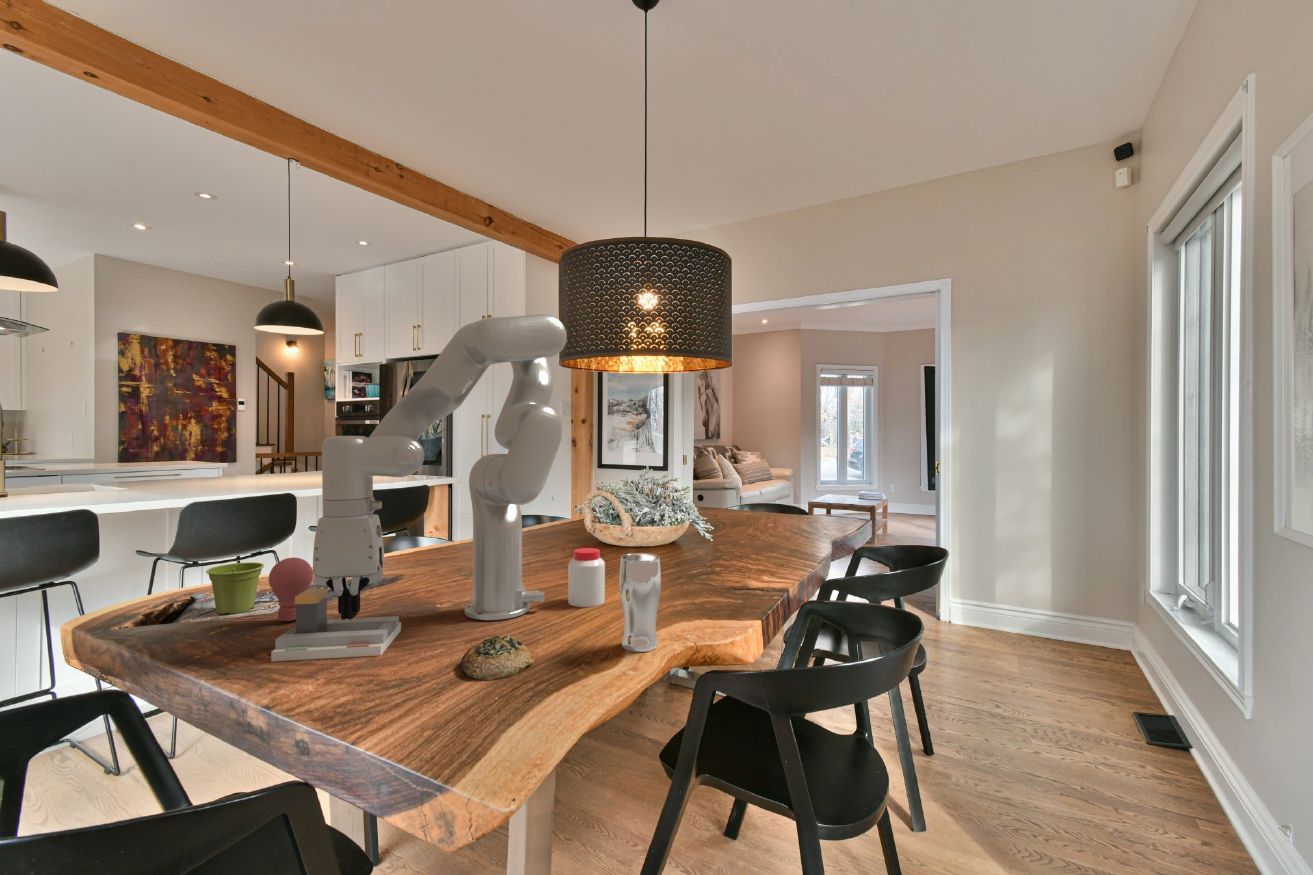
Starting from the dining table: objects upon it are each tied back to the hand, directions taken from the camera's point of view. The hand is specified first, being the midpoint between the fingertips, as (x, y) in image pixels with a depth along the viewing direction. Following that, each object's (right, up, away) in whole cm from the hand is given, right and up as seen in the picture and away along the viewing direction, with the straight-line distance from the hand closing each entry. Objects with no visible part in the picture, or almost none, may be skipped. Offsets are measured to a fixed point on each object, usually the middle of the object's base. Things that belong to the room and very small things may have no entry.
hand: (349, 616), depth 97 cm
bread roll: (+27, -5, -9) cm, 29 cm away
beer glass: (+49, -5, 0) cm, 49 cm away
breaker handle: (-6, -3, -1) cm, 6 cm away
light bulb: (-18, -5, +12) cm, 22 cm away
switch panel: (-1, -5, 0) cm, 5 cm away
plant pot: (-33, -5, +19) cm, 38 cm away
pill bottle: (+37, -5, +25) cm, 45 cm away
